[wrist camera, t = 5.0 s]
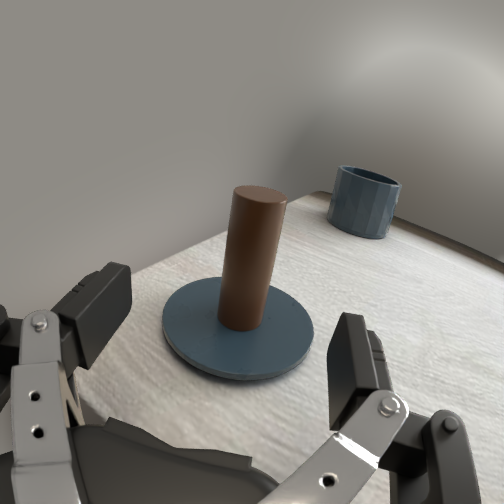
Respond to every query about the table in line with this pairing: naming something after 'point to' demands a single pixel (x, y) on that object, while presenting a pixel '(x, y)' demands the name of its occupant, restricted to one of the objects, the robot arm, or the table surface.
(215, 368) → the lid
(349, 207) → the pot
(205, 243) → the table surface
